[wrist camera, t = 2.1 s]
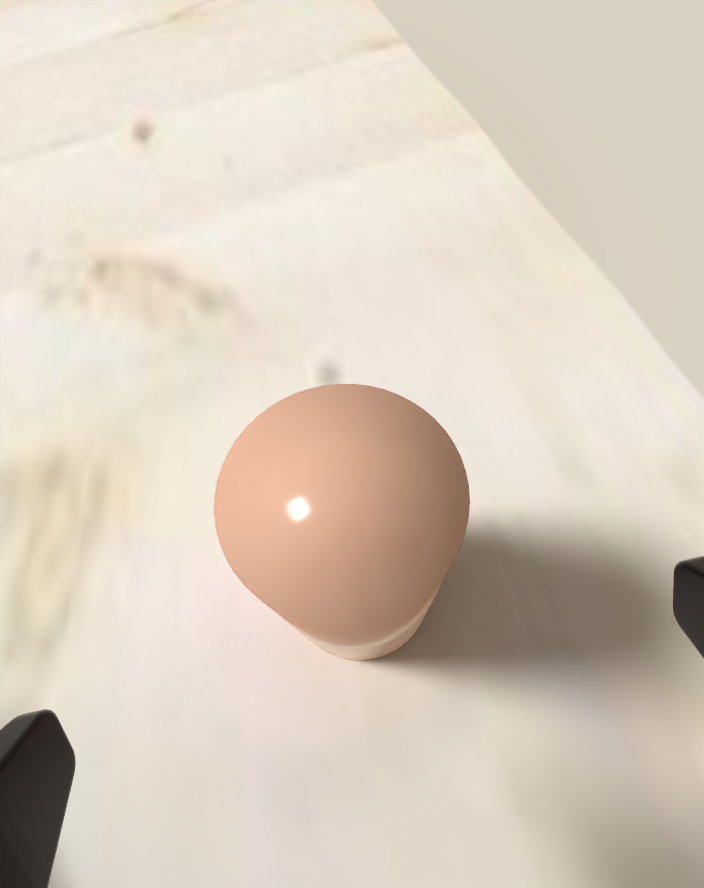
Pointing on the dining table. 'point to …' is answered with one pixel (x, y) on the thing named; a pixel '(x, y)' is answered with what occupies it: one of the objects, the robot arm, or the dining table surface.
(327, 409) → the peach bullet knob
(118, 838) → the dining table surface
